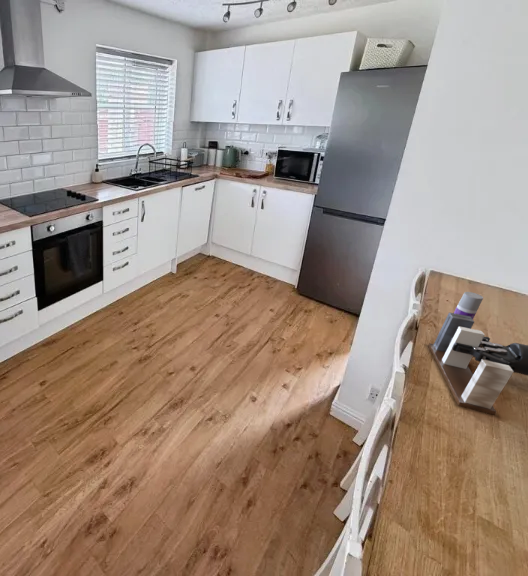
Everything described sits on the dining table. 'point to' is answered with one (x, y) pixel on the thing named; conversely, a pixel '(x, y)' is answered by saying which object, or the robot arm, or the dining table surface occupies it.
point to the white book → (462, 337)
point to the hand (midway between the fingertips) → (452, 343)
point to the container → (469, 304)
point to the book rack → (469, 371)
